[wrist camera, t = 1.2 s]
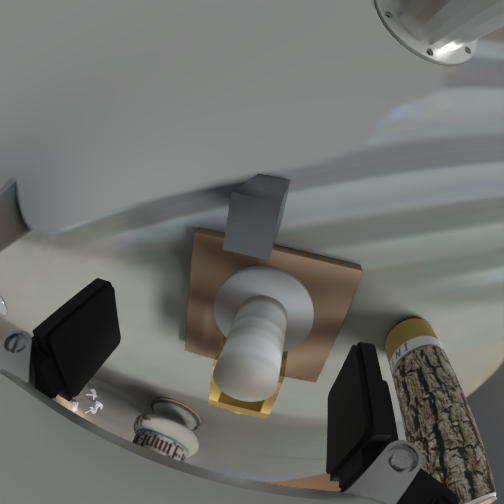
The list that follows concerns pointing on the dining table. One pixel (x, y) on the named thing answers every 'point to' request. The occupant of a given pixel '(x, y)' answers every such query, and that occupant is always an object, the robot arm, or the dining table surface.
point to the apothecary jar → (168, 429)
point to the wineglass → (3, 307)
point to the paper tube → (438, 413)
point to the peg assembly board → (263, 318)
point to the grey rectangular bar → (256, 216)
